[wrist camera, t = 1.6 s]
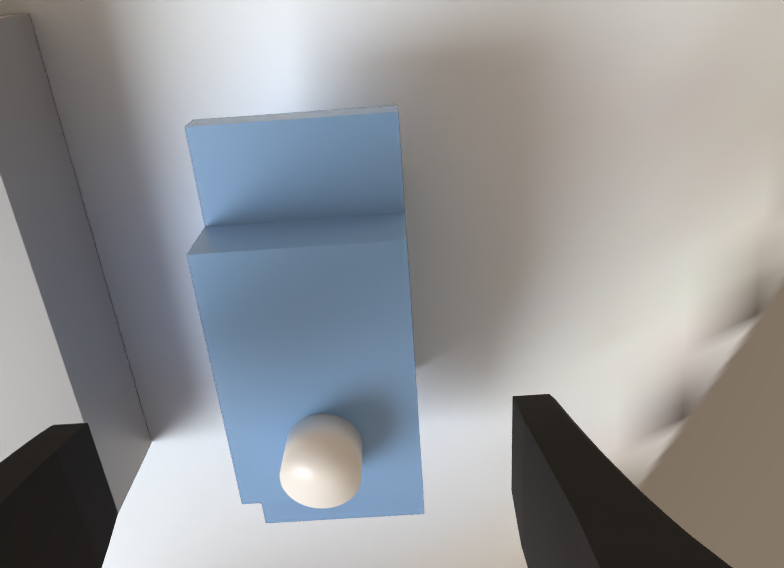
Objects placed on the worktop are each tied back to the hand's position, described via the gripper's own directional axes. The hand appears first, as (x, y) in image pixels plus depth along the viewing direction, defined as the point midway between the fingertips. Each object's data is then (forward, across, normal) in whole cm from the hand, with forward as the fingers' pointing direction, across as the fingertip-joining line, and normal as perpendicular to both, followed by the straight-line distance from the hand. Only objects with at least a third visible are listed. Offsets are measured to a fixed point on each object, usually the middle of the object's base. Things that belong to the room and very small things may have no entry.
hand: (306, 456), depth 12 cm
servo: (+7, 0, 0) cm, 7 cm away
